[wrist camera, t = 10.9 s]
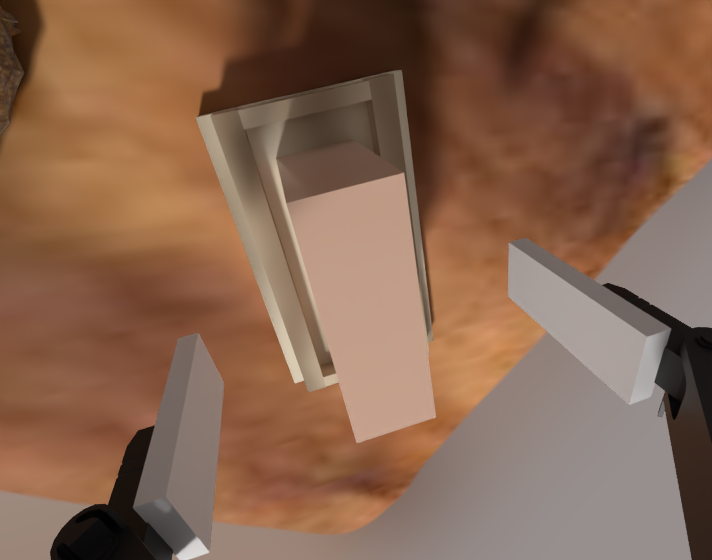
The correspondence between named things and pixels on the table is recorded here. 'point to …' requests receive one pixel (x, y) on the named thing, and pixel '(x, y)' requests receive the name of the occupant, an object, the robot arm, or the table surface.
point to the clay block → (363, 281)
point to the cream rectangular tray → (268, 205)
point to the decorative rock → (8, 67)
